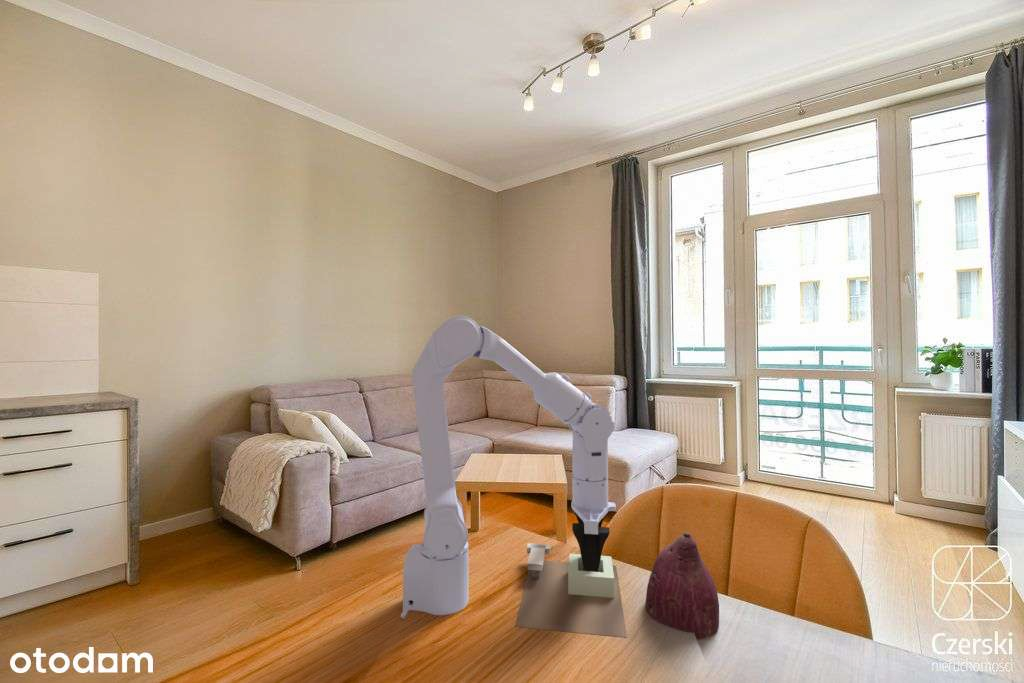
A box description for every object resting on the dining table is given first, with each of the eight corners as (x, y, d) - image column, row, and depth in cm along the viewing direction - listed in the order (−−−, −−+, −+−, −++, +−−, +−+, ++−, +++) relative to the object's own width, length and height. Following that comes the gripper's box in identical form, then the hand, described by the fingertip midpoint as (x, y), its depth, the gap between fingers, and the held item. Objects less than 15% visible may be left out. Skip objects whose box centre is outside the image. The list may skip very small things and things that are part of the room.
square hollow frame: (568, 594, 68) (568, 574, 68) (569, 570, 75) (569, 553, 75) (614, 597, 67) (614, 578, 67) (611, 574, 74) (611, 556, 74)
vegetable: (724, 665, 59) (748, 573, 55) (645, 644, 61) (662, 554, 57) (708, 602, 69) (728, 520, 65) (640, 586, 71) (655, 506, 67)
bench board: (511, 633, 61) (511, 604, 61) (528, 564, 79) (528, 542, 79) (627, 645, 58) (626, 614, 58) (616, 571, 77) (615, 548, 77)
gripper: (619, 492, 63) (619, 586, 63) (612, 465, 78) (612, 541, 78) (569, 490, 65) (570, 582, 64) (572, 463, 79) (572, 539, 79)
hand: (590, 560), depth 71 cm, fingers open, 6 cm apart
